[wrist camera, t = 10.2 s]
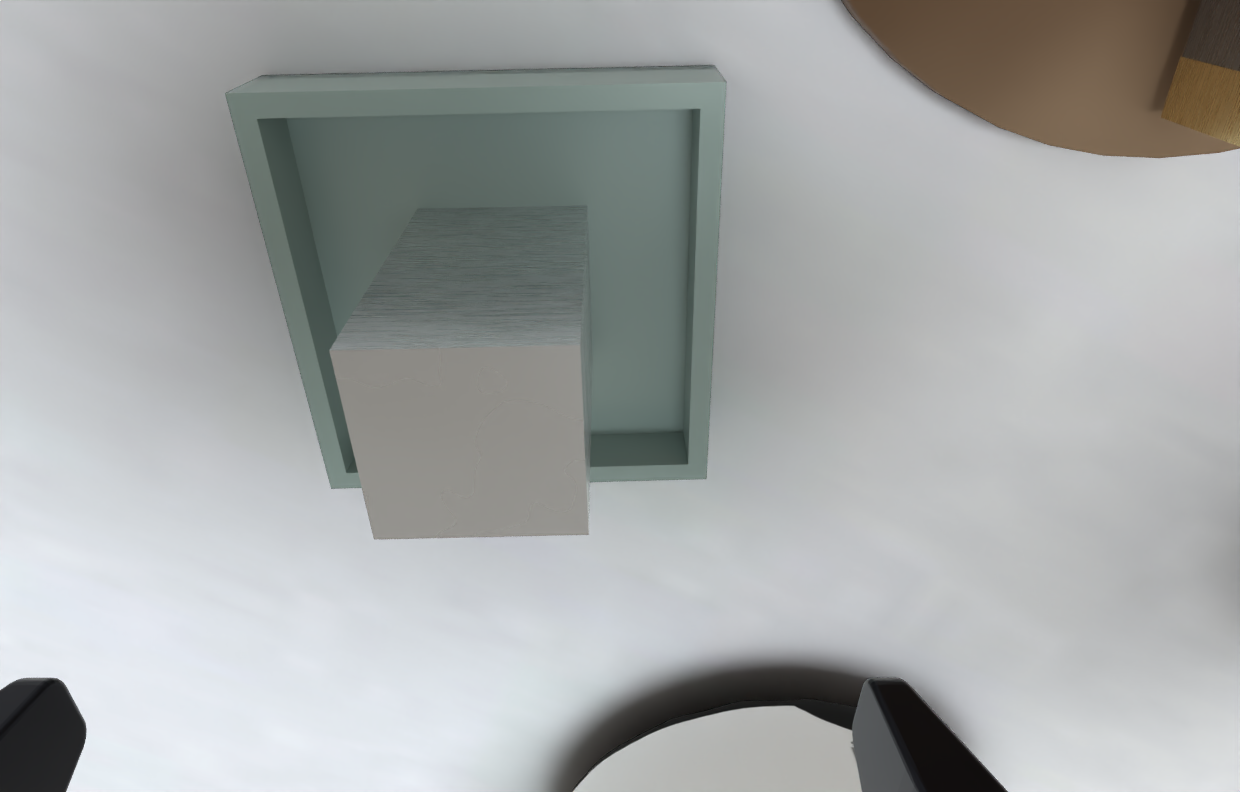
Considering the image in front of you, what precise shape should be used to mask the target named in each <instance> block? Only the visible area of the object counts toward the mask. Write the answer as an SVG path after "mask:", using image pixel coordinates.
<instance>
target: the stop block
mask: <svg viewBox="0 0 1240 792" xmlns="http://www.w3.org/2000/svg"><path fill="white" fill-rule="evenodd" d="M329 352H330V356H331V360H332V364H333V368H334V373H335V377H336V381H337V385H338V390H339V394H340V398H341V402H342V406H343V411H344V415H345V419H346V423H347V428H348V432H349V436H350V440H351V444H352V449H353V453H354V457H355V461H356V466H357V470H358V474H359V478H360V482H361V487H362V491H363V495H364V499H365V504H366V508H367V512H368V516H369V520H370V525H371V529H372V533H373V537H374V539H415V538H459V537H504V536H548V535H589V497H590V454H591V411H592V368H593V345H592V317H591V290H590V262H589V234H588V206H587V205H578V206H525V207H472V208H419V209H417V210H416V212H415V213H414V215H413V217H412V218H411V220H410V221H409V223H408V225H407V226H406V228H405V229H404V231H403V233H402V234H401V236H400V237H399V239H398V241H397V242H396V244H395V245H394V247H393V249H392V250H391V252H390V254H389V255H388V257H387V258H386V260H385V262H384V263H383V265H382V266H381V268H380V270H379V271H378V273H377V274H376V276H375V278H374V279H373V281H372V282H371V284H370V286H369V287H368V289H367V290H366V292H365V294H364V295H363V297H362V299H361V300H360V302H359V303H358V305H357V307H356V308H355V310H354V311H353V313H352V315H351V316H350V318H349V319H348V321H347V323H346V324H345V326H344V327H343V329H342V331H341V332H340V334H339V336H338V337H337V339H336V340H335V342H334V344H333V345H332V347H331V348H330V350H329Z"/></svg>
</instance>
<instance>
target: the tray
mask: <svg viewBox="0 0 1240 792" xmlns="http://www.w3.org/2000/svg"><path fill="white" fill-rule="evenodd" d="M225 95H226V99H227V103H228V106H229V110H230V114H231V117H232V121H233V125H234V129H235V132H236V136H237V140H238V143H239V147H240V151H241V155H242V158H243V162H244V166H245V169H246V173H247V177H248V181H249V184H250V188H251V192H252V195H253V199H254V203H255V207H256V210H257V214H258V218H259V222H260V225H261V229H262V233H263V236H264V240H265V244H266V248H267V251H268V255H269V259H270V262H271V266H272V270H273V274H274V277H275V281H276V285H277V288H278V292H279V296H280V300H281V303H282V307H283V311H284V314H285V318H286V322H287V326H288V329H289V333H290V337H291V340H292V344H293V348H294V352H295V355H296V359H297V363H298V367H299V370H300V374H301V378H302V381H303V385H304V389H305V393H306V396H307V400H308V404H309V407H310V411H311V415H312V419H313V422H314V426H315V430H316V433H317V437H318V441H319V445H320V448H321V452H322V456H323V459H324V463H325V467H326V471H327V474H328V478H329V482H330V485H331V489H338V488H362V487H361V482H360V478H359V474H358V470H357V466H356V461H355V457H354V453H353V449H352V444H351V440H350V436H349V432H348V428H347V423H346V419H345V415H344V411H343V406H342V402H341V398H340V394H339V390H338V385H337V381H336V377H335V373H334V368H333V364H332V360H331V356H330V352H329V350H330V348H331V347H332V345H333V344H334V342H335V340H336V339H337V337H338V336H339V334H340V332H341V331H342V329H343V327H344V326H345V324H346V323H347V321H348V319H349V318H350V316H351V315H352V313H353V311H354V310H355V308H356V307H357V305H358V303H359V302H360V300H361V299H362V297H363V295H364V294H365V292H366V290H367V289H368V287H369V286H370V284H371V282H372V281H373V279H374V278H375V276H376V274H377V273H378V271H379V270H380V268H381V266H382V265H383V263H384V262H385V260H386V258H387V257H388V255H389V254H390V252H391V250H392V249H393V247H394V245H395V244H396V242H397V241H398V239H399V237H400V236H401V234H402V233H403V231H404V229H405V228H406V226H407V225H408V223H409V221H410V220H411V218H412V217H413V215H414V213H415V212H416V210H417V209H419V208H472V207H525V206H578V205H587V206H588V234H589V262H590V290H591V317H592V345H593V368H592V411H591V454H590V482H611V481H650V480H689V479H706V477H707V457H708V437H709V418H710V398H711V378H712V358H713V338H714V318H715V298H716V278H717V258H718V239H719V219H720V199H721V179H722V159H723V139H724V119H725V99H726V81H725V79H724V78H723V77H722V75H721V74H720V72H719V71H718V70H717V68H716V67H715V65H701V66H656V67H612V68H567V69H523V70H478V71H434V72H389V73H345V74H300V75H262V76H260V77H258V78H256V79H254V80H251V81H249V82H247V83H245V84H243V85H241V86H239V87H237V88H235V89H233V90H231V91H229V92H227V93H225Z"/></svg>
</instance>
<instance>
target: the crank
mask: <svg viewBox="0 0 1240 792" xmlns="http://www.w3.org/2000/svg"><path fill="white" fill-rule="evenodd" d="M1161 118H1164V119H1166V120H1169V121H1172V122H1174V123H1177V124H1180V125H1182V126H1185V127H1188V128H1190V129H1193V130H1196V131H1199V132H1201V133H1204V134H1207V135H1209V136H1212V137H1215V138H1217V139H1220V140H1223V141H1225V142H1228V143H1231V144H1234V145H1236V146H1239V147H1240V0H1201V2H1200V5H1199V8H1198V11H1197V14H1196V17H1195V20H1194V23H1193V26H1192V29H1191V32H1190V35H1189V38H1188V41H1187V44H1186V47H1185V50H1184V53H1183V56H1182V57H1180V60H1179V63H1178V66H1177V69H1176V72H1175V75H1174V78H1173V81H1172V84H1171V87H1170V90H1169V93H1168V96H1167V99H1166V102H1165V105H1164V108H1163V111H1162V114H1161Z"/></svg>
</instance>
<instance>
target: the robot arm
mask: <svg viewBox="0 0 1240 792" xmlns="http://www.w3.org/2000/svg"><path fill="white" fill-rule="evenodd" d="M852 737H853V745H854V751H855V756H856V762H857V767H858V773H859V778H860V784H861V789H862V792H1008V791H1007V790H1006V789H1005V788H1004V787H1003V786H1002V785H1001V784H1000V783H999V781H998V780H997V779H996V778H995V777H994V776H993V775H992V774H991V773H990V772H989V771H988V770H987V768H986V767H985V766H984V765H983V764H982V763H981V762H980V761H979V760H978V759H977V758H976V757H975V755H974V754H973V753H972V752H971V751H970V750H969V749H968V748H967V747H966V746H965V745H964V744H963V742H962V741H961V740H960V739H959V738H958V737H957V736H956V735H955V734H954V733H953V732H952V730H951V729H950V728H949V727H948V726H947V725H946V724H945V723H944V722H943V721H942V720H941V719H940V717H939V716H938V715H937V714H936V713H935V712H934V711H933V710H932V709H931V708H930V707H929V706H928V704H927V703H926V702H925V701H924V700H923V699H922V698H921V697H920V696H919V695H918V694H917V692H916V691H915V690H914V689H913V688H912V687H911V686H910V685H909V684H908V683H907V682H906V681H904V680H902V679H900V678H868V679H867V680H866V681H865V682H864V684H863V687H862V691H861V694H860V698H859V702H858V705H857V709H856V713H855V716H854V720H853V726H852ZM85 739H86V723H85V721H84V719H83V717H82V715H81V713H80V711H79V709H78V707H77V706H76V704H75V702H74V700H73V698H72V696H71V694H70V693H69V691H68V689H67V687H66V685H65V684H64V683H63V682H62V681H61V680H59V679H57V678H23V679H19V680H16V681H14V682H12V683H10V684H9V685H7V686H6V687H4V688H3V689H1V690H0V792H66V790H67V788H68V785H69V783H70V780H71V778H72V775H73V773H74V770H75V768H76V765H77V763H78V760H79V757H80V755H81V752H82V750H83V747H84V744H85Z"/></svg>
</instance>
